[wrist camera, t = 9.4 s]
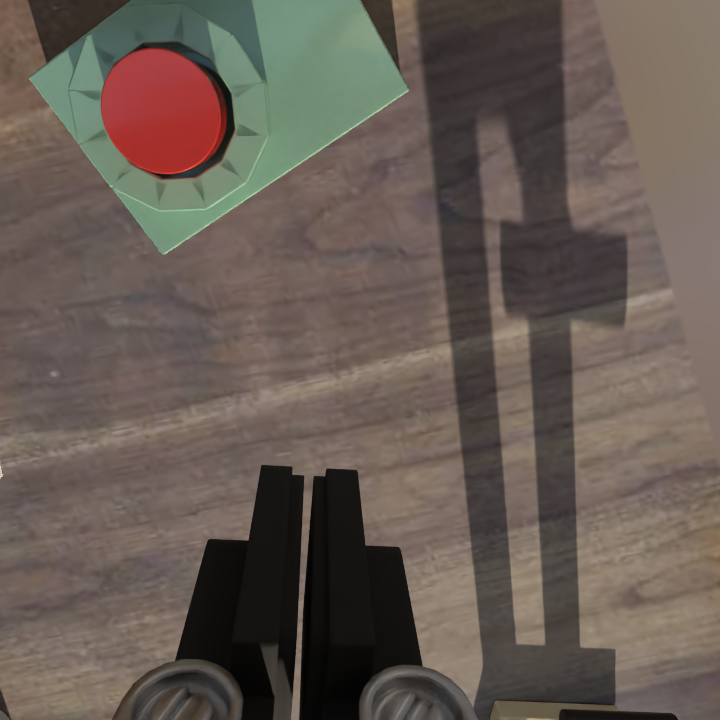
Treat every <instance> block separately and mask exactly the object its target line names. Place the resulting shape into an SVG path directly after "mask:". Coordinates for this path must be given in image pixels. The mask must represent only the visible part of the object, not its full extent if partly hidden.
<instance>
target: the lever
mask: <svg viewBox="0 0 720 720" xmlns="http://www.w3.org/2000/svg"><path fill="white" fill-rule="evenodd" d="M559 720H678V719H677V717H676V716H675V715H674V714H672V713H653V712H628V711H603V710H578V709H561V710H560V713H559Z"/></svg>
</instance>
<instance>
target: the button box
mask: <svg viewBox="0 0 720 720" xmlns="http://www.w3.org/2000/svg"><path fill="white" fill-rule="evenodd" d="M144 48H164V49H169V50H172V51H175V52H178V53H180V54H182V55H184V56H186V57H188V58H190V59H193V60H194V61H196V62H197V63H199V64H200V65H202V66H203V67H204V68H205V69H206V70H207V71H208V72H209V73H210V74H211V75H212V76H213V78H214V79H215V80H216V82H217V83H218V85H219V87H220V89H221V91H222V93H223V96H224V99H225V103H226V108H227V128H226V132H225V136H224V139H223V141H222V143H221V145H220V147H219V148H218V150H217V151H216V153H215V154H214V155H213V156H212V157H211V158H210V159H208V160H207V161H206V162H204V163H203V164H201V165H199V166H197V167H194V168H192V169H189V170H187V171H184V172H180V173H174V174H160V173H154V172H151V171H147V170H145V169H143V168H140V167H138V166H137V165H135V164H133V163H132V162H130V161H129V160H128V159H127V158H125V157H124V156H123V155H122V154H121V153H120V152H119V151H118V149H117V148H116V147H115V146H114V144H113V143H112V141H111V139H110V138H109V136H108V134H107V132H106V129H105V126H104V124H103V119H102V115H101V93H102V88H103V85H104V82H105V80H106V77H107V75H108V74H109V72H110V70H111V69H112V68H113V66H114V65H115V64H116V63H117V62H118V61H119V60H120V59H122V58H123V57H124V56H126V55H128V54H129V53H132V52H134V51H136V50H140V49H144ZM29 79H30V81H31V82H32V83H33V85H34V86H35V87H36V88H37V90H38V91H39V92H40V94H41V95H42V96H43V98H44V99H45V100H46V102H47V103H48V104H49V106H50V107H51V108H52V110H53V111H54V112H55V114H56V115H57V116H58V118H59V119H60V120H61V121H62V123H63V124H64V125H65V127H66V128H67V129H68V131H69V132H70V133H71V135H72V136H73V137H74V139H75V140H76V141H77V143H78V144H79V146H80V148H81V149H82V150H83V152H84V153H85V154H86V156H87V157H88V158H89V160H90V161H91V162H92V163H93V165H94V166H95V167H96V169H97V170H98V171H99V173H100V174H101V175H102V177H103V178H104V179H105V181H106V182H107V183H108V185H109V186H110V187H112V189H113V190H114V191H115V193H116V194H117V195H118V197H119V198H120V199H121V201H122V202H123V203H124V205H125V206H126V207H127V209H128V210H129V211H130V212H131V214H132V215H133V216H134V218H135V219H136V220H137V222H138V223H139V224H140V226H141V227H142V228H143V230H144V231H145V232H146V234H147V235H148V236H149V238H150V239H151V240H152V242H153V243H154V244H155V245H156V247H157V248H158V249H159V251H160V252H161V253H162V254H163V255H165V254H166V253H168V252H169V251H171V250H172V249H174V248H175V247H177V246H178V245H180V244H181V243H183V242H184V241H186V240H187V239H189V238H190V237H192V236H193V235H195V234H196V233H198V232H199V231H201V230H202V229H204V228H205V227H207V226H208V225H210V224H211V223H213V222H214V221H216V220H217V219H219V218H220V217H222V216H223V215H224V214H226V213H227V212H229V211H230V210H232V209H233V208H235V207H236V206H238V205H239V204H241V203H242V202H244V201H245V200H247V199H248V198H250V197H251V196H253V195H254V194H256V193H257V192H259V191H260V190H262V189H263V188H265V187H266V186H268V185H269V184H271V183H272V182H274V181H275V180H277V179H278V178H280V177H281V176H283V175H284V174H286V173H287V172H289V171H290V170H292V169H293V168H295V167H296V166H298V165H299V164H301V163H302V162H304V161H305V160H307V159H308V158H310V157H311V156H313V155H314V154H316V153H317V152H319V151H320V150H321V149H323V148H324V147H326V146H327V145H329V144H330V143H332V142H333V141H335V140H336V139H338V138H339V137H341V136H342V135H344V134H345V133H347V132H348V131H350V130H351V129H353V128H354V127H356V126H357V125H359V124H360V123H362V122H363V121H365V120H366V119H368V118H369V117H371V116H372V115H374V114H375V113H377V112H378V111H380V110H381V109H383V108H384V107H386V106H387V105H389V104H390V103H392V102H393V101H395V100H396V99H398V98H399V97H401V96H402V95H404V94H405V93H407V92H408V91H409V87H408V86H407V84H406V82H405V80H404V78H403V76H402V75H401V73H400V71H399V69H398V67H397V65H396V64H395V62H394V60H393V58H392V56H391V54H390V53H389V51H388V49H387V47H386V45H385V43H384V42H383V40H382V38H381V36H380V34H379V32H378V31H377V29H376V27H375V25H374V23H373V21H372V20H371V18H370V16H369V14H368V12H367V10H366V9H365V7H364V5H363V3H362V1H361V0H130V1H129V2H128V3H126V4H125V5H124V6H122V7H121V8H120V9H118V10H117V11H116V12H114V13H113V14H112V15H110V16H109V17H108V18H106V19H105V20H104V21H102V22H101V23H100V24H98V25H97V26H96V27H94V28H93V29H92V30H90V31H89V32H88V33H86V34H85V35H84V36H82V37H81V38H80V39H78V40H77V41H76V42H74V43H73V44H72V45H70V46H69V47H68V48H66V49H65V50H64V51H62V52H61V53H60V54H58V55H57V56H56V57H54V58H53V59H52V60H50V61H49V62H48V63H46V64H45V65H44V66H42V67H41V68H40V69H38V70H37V71H36V72H34V73H33V74H32V75H30V76H29Z"/></svg>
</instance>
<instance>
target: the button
mask: <svg viewBox="0 0 720 720" xmlns="http://www.w3.org/2000/svg"><path fill="white" fill-rule="evenodd" d="M101 115H102V119H103V124H104V126H105V129H106V132H107V134H108V136H109V138H110V139H111V141H112V143H113V144H114V146H115V147H116V148H117V149H118V151H119V152H120V153H121V154H122V155H123V156H124V157H125V158H127V159H128V160H129V161H130V162H132V163H133V164H135V165H137V166H138V167H140V168H143V169H145V170H147V171H151V172H154V173H160V174H174V173H180V172H184V171H187V170H189V169H192V168H194V167H197V166H199V165H201V164H203V163H204V162H206V161H207V160H208V159H210V158H211V157H212V156H213V155H214V154H215V153H216V151H217V150H218V148H219V147H220V145H221V143H222V141H223V139H224V136H225V132H226V128H227V108H226V103H225V99H224V96H223V93H222V91H221V89H220V87H219V85H218V83H217V82H216V80H215V79H214V78H213V76H212V75H211V74H210V73H209V72H208V71H207V70H206V69H205V68H204V67H203V66H202V65H200V64H199V63H197V62H196V61H194V60H193V59H190V58H188V57H186V56H184V55H182V54H180V53H178V52H175V51H172V50H169V49H164V48H144V49H140V50H136V51H134V52H132V53H129V54H128V55H126V56H124V57H123V58H122V59H120V60H119V61H118V62H117V63H116V64H115V65H114V66H113V68H112V69H111V70H110V72H109V74H108V75H107V77H106V80H105V82H104V85H103V88H102V93H101Z"/></svg>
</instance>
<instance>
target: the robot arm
mask: <svg viewBox="0 0 720 720" xmlns="http://www.w3.org/2000/svg"><path fill="white" fill-rule="evenodd" d="M303 490H304V476H303V475H292V467H289V466H270V465H262V466H261V471H260V477H259V482H258V488H257V494H256V500H255V506H254V512H253V518H252V523H251V529H250V535H249V541H244V540H220V539H209V540H208V542H207V545H206V548H205V551H204V555H203V559H202V563H201V566H200V570H199V574H198V577H197V581H196V585H195V589H194V592H193V596H192V600H191V603H190V607H189V611H188V615H187V618H186V622H185V626H184V630H183V633H182V637H181V641H180V644H179V648H178V652H177V656H176V659H175V661H174V662H169V663H165V664H163V665H161V666H159V667H157V668H155V669H153V670H151V671H148V672H147V673H146V674H145V675H144V676H142V677H141V678H140V679H139V680H137V681H136V682H135V683H134V684H133V685H132V687H131V688H130V689H129V691H128V692H127V693H126V695H125V696H124V698H123V699H122V701H121V703H120V705H119V707H118V709H117V711H116V713H115V714H114V716H113V718H112V720H291V709H292V696H293V682H294V669H295V656H296V640H297V621H298V599H299V577H300V556H301V534H302V512H303ZM299 720H478V719H477V717H476V714H475V712H474V709H473V707H472V705H471V703H470V702H469V700H468V698H467V697H466V695H465V693H464V692H463V690H462V689H461V688H459V687H458V686H457V685H456V684H455V683H454V682H453V681H452V680H451V679H450V678H448V677H446V676H445V675H443V674H441V673H439V672H437V671H436V670H433V669H430V668H426V667H423V666H422V660H421V655H420V650H419V644H418V639H417V634H416V628H415V623H414V618H413V612H412V607H411V601H410V596H409V591H408V585H407V580H406V575H405V569H404V564H403V559H402V554H401V550H400V548H399V547H387V546H365V537H364V528H363V518H362V509H361V499H360V490H359V480H358V472H357V470H346V469H326V476H325V477H323V476H314V480H313V493H312V505H311V518H310V530H309V543H308V556H307V568H306V581H305V593H304V608H303V630H302V658H301V686H300V715H299Z"/></svg>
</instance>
